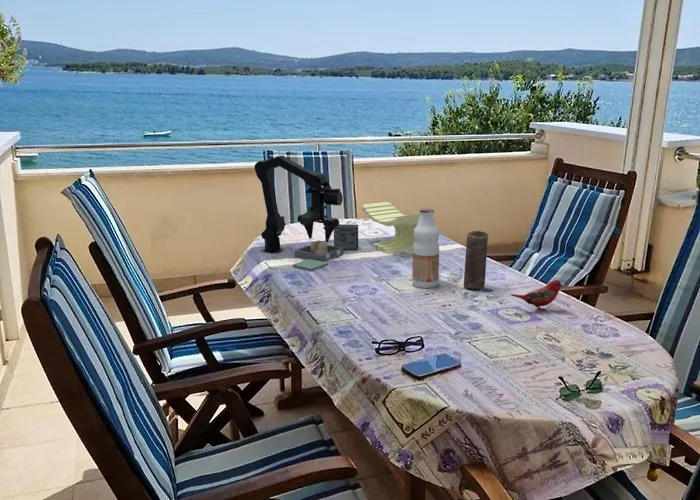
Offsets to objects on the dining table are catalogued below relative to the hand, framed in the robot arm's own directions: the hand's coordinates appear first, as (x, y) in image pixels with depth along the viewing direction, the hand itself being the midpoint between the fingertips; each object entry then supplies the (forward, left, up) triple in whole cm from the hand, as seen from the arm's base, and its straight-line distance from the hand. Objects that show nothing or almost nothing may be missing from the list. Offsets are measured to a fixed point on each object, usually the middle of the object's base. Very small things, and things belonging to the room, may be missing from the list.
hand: (318, 240), depth 256 cm
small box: (+2, +16, -7) cm, 18 cm away
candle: (+72, +1, -7) cm, 72 cm away
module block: (0, 0, -7) cm, 7 cm away
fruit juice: (+56, -6, -7) cm, 57 cm away
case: (0, 0, -7) cm, 7 cm away
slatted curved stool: (+19, +29, -7) cm, 35 cm away
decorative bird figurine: (+98, -8, -7) cm, 99 cm away
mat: (+7, -13, -7) cm, 17 cm away
